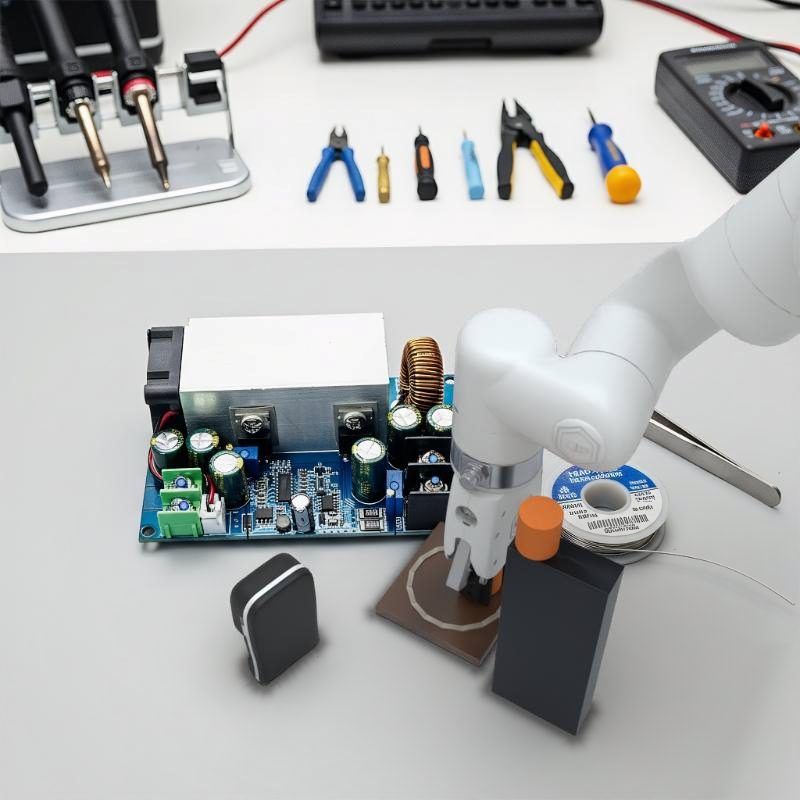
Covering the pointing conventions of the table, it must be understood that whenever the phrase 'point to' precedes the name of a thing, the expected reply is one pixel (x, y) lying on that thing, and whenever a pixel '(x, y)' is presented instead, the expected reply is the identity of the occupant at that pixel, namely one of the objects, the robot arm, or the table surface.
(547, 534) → the eye dot
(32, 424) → the table surface
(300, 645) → the battery charger
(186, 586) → the table surface
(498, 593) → the board
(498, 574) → the eye dot
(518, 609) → the dot stand
